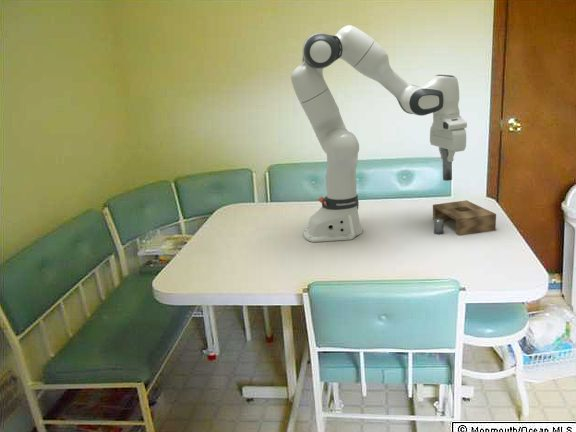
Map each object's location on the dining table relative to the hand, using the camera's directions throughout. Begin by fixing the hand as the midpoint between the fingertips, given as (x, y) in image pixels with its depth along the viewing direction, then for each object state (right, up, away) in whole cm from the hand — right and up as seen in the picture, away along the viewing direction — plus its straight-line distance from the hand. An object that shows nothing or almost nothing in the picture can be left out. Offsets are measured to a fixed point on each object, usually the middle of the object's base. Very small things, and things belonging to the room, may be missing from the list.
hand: (447, 160), depth 175 cm
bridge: (+8, -23, +6) cm, 25 cm away
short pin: (-3, -26, -1) cm, 26 cm away
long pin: (+1, -7, +2) cm, 7 cm away
